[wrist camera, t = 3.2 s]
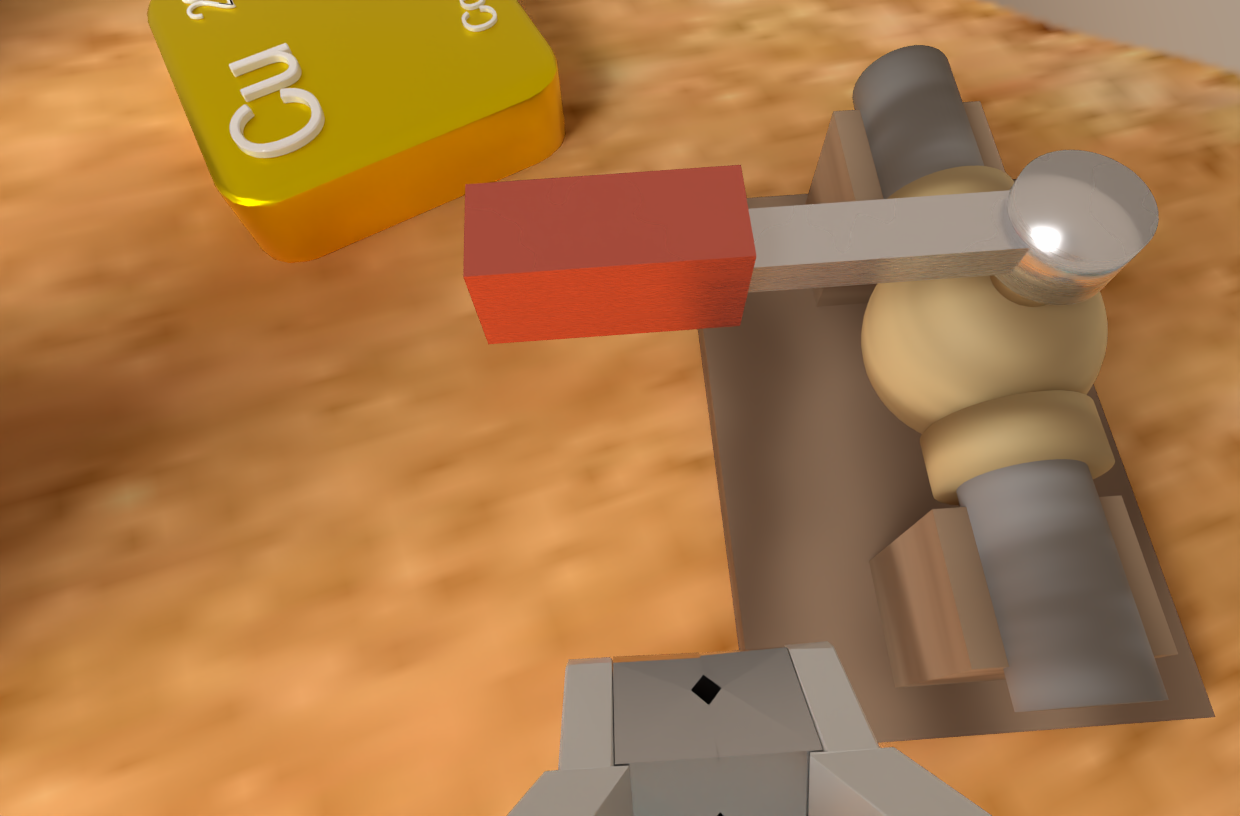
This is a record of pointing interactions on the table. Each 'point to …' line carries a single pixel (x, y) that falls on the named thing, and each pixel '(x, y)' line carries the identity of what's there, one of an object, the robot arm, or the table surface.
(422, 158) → the element tile
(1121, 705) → the valve stand
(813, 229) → the valve lever
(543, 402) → the table surface
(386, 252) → the table surface
